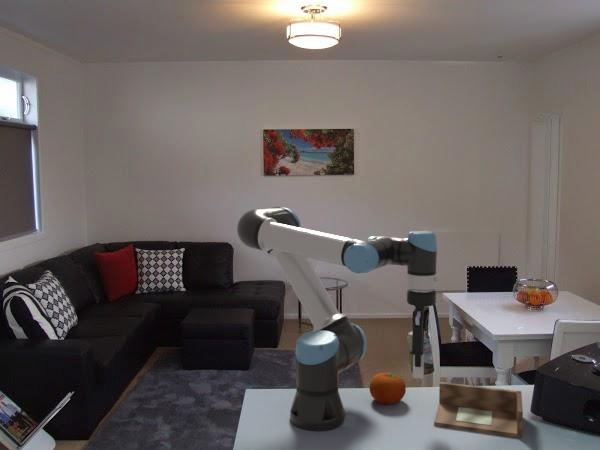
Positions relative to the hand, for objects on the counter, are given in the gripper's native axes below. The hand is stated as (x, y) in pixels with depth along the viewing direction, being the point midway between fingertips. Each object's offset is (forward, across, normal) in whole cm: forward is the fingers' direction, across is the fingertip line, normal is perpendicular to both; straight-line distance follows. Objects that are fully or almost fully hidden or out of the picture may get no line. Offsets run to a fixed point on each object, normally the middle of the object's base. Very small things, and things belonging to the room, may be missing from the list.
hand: (420, 373), depth 151 cm
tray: (+14, +6, -15) cm, 21 cm away
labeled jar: (+1, 0, 0) cm, 1 cm away
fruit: (+14, +11, +11) cm, 21 cm away
